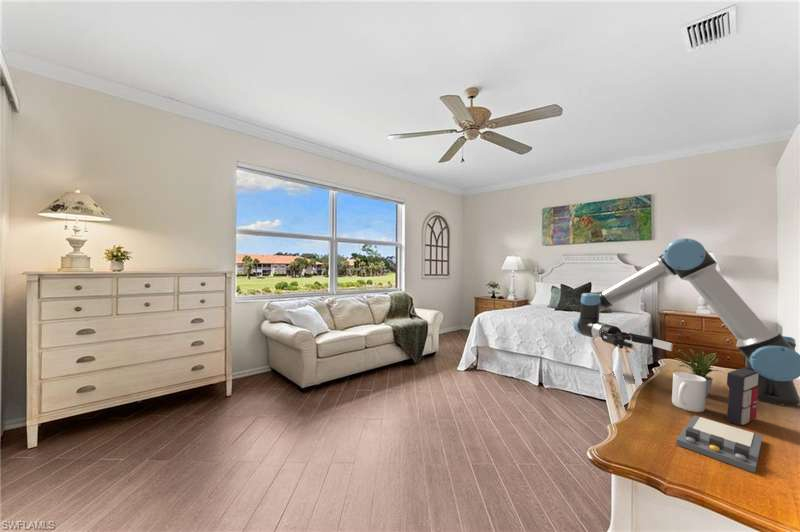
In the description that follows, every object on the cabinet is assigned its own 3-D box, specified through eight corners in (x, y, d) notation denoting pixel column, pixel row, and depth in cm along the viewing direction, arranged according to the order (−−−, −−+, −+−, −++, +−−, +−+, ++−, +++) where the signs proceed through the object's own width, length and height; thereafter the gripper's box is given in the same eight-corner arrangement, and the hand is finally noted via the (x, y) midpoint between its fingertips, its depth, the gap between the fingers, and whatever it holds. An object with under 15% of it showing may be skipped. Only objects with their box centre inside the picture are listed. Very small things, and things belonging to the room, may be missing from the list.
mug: (695, 418, 101) (697, 385, 100) (663, 407, 108) (664, 376, 107) (708, 409, 107) (710, 378, 107) (677, 399, 114) (678, 370, 114)
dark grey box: (743, 427, 95) (747, 377, 95) (723, 420, 99) (727, 372, 99) (757, 419, 100) (761, 372, 100) (738, 413, 104) (741, 367, 104)
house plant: (690, 383, 130) (692, 342, 130) (734, 397, 117) (737, 352, 116) (665, 386, 125) (667, 344, 125) (709, 402, 112) (711, 355, 112)
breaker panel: (693, 420, 99) (694, 408, 99) (761, 441, 88) (762, 428, 88) (676, 444, 85) (677, 431, 85) (755, 473, 74) (755, 458, 74)
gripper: (630, 341, 140) (682, 356, 120) (581, 342, 135) (627, 359, 114) (631, 324, 140) (684, 336, 119) (582, 324, 134) (629, 338, 114)
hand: (656, 347), depth 117 cm, fingers open, 13 cm apart
